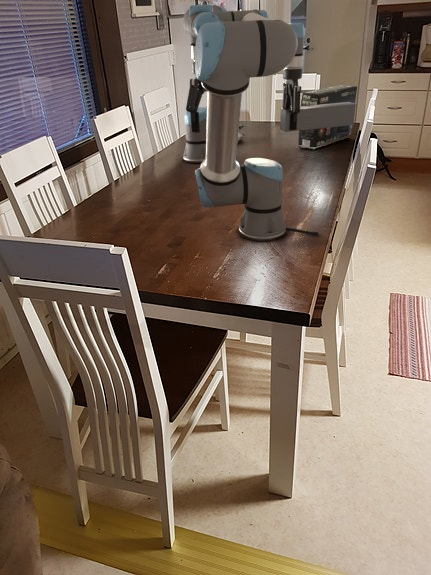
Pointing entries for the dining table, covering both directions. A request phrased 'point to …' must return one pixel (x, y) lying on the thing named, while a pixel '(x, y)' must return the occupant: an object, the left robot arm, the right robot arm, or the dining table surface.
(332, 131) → the router box
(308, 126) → the bar
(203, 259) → the dining table surface
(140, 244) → the dining table surface
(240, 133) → the fossil
